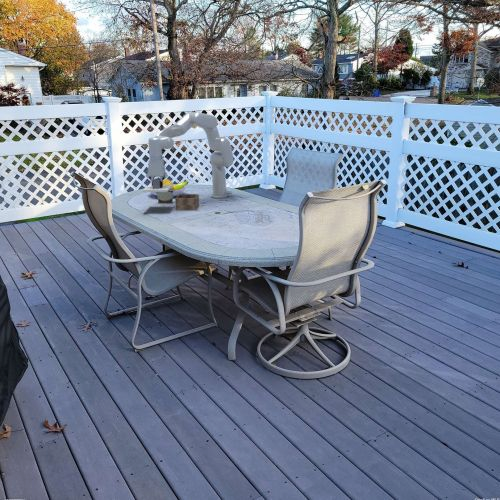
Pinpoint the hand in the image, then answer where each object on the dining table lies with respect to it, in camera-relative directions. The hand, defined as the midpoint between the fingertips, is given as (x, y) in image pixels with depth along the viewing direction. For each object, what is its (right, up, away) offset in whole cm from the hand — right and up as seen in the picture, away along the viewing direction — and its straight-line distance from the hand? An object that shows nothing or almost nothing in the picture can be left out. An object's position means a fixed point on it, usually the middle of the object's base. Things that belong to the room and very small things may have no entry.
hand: (157, 187), depth 303 cm
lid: (0, -1, 0) cm, 1 cm away
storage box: (+18, -12, +11) cm, 24 cm away
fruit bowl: (-1, 0, +46) cm, 46 cm away
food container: (+1, -8, +25) cm, 26 cm away
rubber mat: (0, -15, +5) cm, 16 cm away
